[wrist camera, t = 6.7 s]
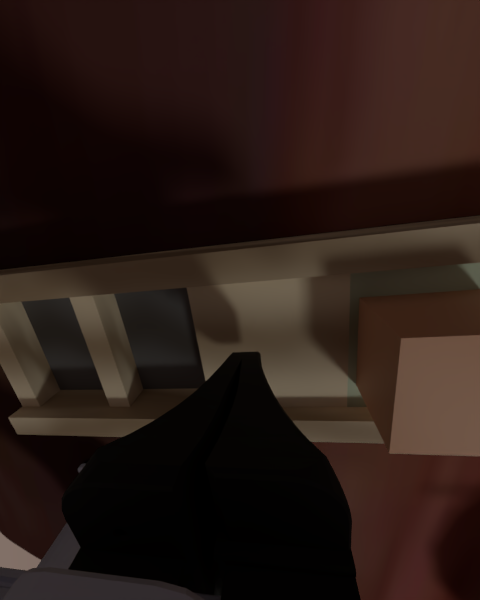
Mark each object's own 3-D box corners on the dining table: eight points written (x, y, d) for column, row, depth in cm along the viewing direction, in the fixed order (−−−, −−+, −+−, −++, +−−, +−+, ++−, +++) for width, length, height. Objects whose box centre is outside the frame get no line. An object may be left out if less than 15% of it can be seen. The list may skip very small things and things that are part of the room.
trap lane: (476, 401, 15) (524, 446, 12) (54, 402, 20) (17, 434, 17) (522, 210, 11) (606, 209, 8) (-7, 270, 16) (-67, 282, 13)
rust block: (461, 383, 12) (544, 458, 8) (356, 384, 13) (389, 453, 9) (480, 289, 11) (593, 330, 7) (359, 297, 11) (401, 338, 8)
